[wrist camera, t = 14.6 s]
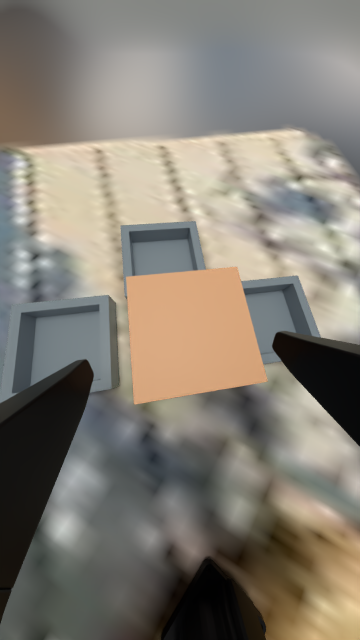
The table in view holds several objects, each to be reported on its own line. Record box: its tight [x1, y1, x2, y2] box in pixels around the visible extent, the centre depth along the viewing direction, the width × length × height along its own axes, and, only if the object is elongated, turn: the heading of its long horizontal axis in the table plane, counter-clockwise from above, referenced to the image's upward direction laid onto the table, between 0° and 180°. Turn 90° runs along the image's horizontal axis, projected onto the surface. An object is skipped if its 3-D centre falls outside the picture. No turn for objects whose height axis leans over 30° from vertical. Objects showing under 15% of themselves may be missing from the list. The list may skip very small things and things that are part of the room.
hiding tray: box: [121, 221, 206, 299], centre depth 21 cm, size 10×10×2 cm
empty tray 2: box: [241, 276, 321, 364], centre depth 20 cm, size 10×10×2 cm
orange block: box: [126, 267, 268, 404], centre depth 12 cm, size 4×4×14 cm
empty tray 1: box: [0, 295, 119, 403], centre depth 17 cm, size 10×10×2 cm
